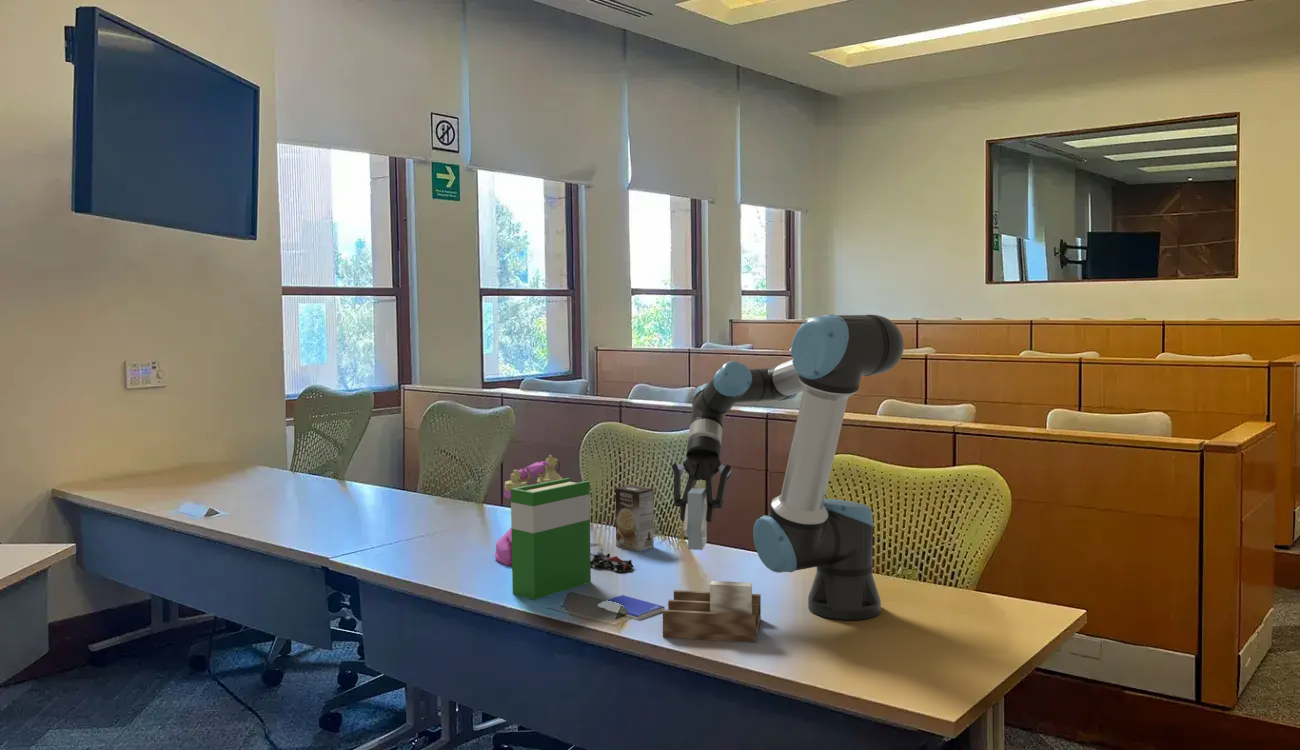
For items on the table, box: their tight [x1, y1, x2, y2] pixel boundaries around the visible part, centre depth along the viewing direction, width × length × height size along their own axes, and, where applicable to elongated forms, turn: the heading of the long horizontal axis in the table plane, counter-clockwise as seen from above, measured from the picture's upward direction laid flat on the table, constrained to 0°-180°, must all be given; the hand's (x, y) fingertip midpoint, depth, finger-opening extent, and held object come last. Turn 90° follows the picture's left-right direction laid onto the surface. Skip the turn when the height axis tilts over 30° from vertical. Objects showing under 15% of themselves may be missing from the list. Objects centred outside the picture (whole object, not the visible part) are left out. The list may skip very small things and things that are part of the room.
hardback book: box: [510, 477, 592, 601], centre depth 218 cm, size 18×7×24 cm, turn 139°
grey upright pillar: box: [687, 486, 708, 551], centre depth 203 cm, size 3×7×12 cm, turn 169°
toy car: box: [590, 548, 635, 573], centre depth 234 cm, size 6×12×4 cm, turn 56°
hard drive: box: [607, 594, 666, 621], centre depth 203 cm, size 2×8×12 cm
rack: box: [662, 580, 762, 643], centre depth 190 cm, size 18×14×10 cm
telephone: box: [494, 454, 564, 566], centre depth 250 cm, size 36×22×25 cm, turn 161°
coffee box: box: [614, 484, 655, 552], centre depth 255 cm, size 9×6×16 cm
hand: (694, 533), depth 198 cm, fingers closed on grey upright pillar, 3 cm apart
